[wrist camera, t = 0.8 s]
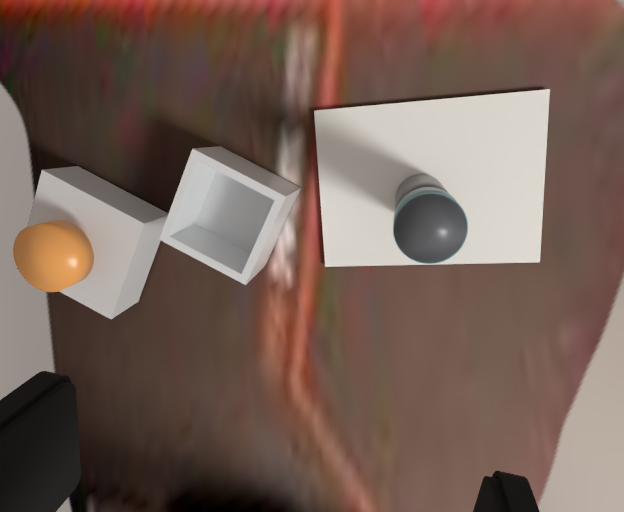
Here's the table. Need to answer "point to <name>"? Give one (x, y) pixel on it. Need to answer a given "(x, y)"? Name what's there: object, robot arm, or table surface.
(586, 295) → the table surface
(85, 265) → the button
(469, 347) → the table surface
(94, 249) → the button box
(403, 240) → the marker
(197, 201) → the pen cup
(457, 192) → the paper
